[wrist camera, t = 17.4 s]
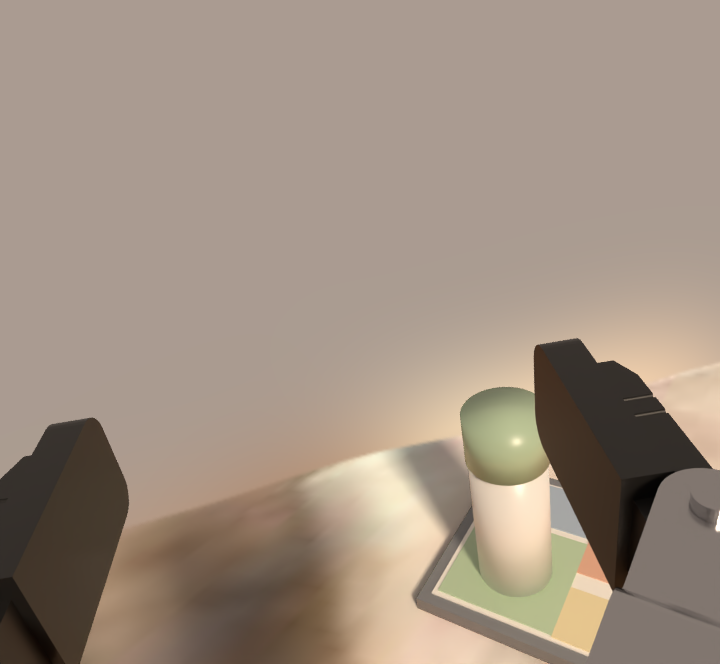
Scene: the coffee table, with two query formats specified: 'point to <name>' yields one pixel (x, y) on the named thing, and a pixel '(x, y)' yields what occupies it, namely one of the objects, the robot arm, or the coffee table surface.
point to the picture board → (532, 613)
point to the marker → (508, 490)
